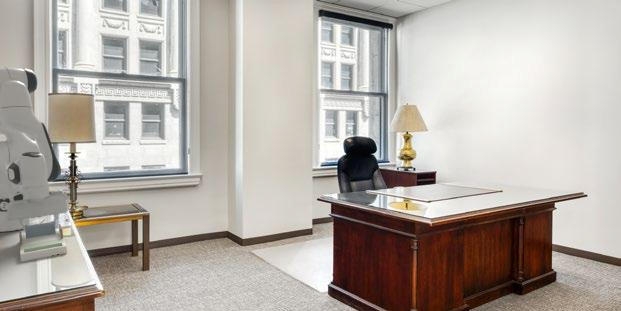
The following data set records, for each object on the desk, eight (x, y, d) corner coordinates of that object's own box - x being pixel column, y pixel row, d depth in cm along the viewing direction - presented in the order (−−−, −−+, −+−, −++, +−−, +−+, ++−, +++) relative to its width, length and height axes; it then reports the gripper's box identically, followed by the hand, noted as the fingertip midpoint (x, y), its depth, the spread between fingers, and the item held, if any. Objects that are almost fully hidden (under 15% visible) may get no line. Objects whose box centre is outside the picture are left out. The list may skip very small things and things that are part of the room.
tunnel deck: (21, 240, 163) (19, 225, 162) (59, 234, 170) (58, 219, 170) (21, 261, 136) (19, 243, 135) (67, 252, 143) (65, 235, 143)
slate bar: (26, 236, 159) (24, 226, 159) (55, 231, 165) (54, 221, 164) (26, 238, 156) (25, 228, 156) (55, 233, 161) (54, 223, 161)
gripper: (66, 189, 173) (69, 221, 174) (5, 196, 161) (9, 231, 162) (67, 190, 168) (70, 224, 169) (4, 198, 156) (8, 234, 157)
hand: (40, 227), depth 165 cm, fingers open, 8 cm apart
